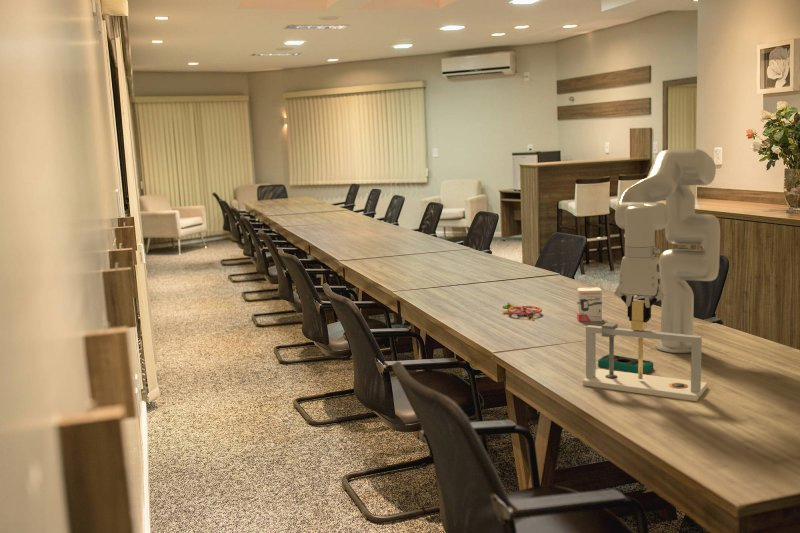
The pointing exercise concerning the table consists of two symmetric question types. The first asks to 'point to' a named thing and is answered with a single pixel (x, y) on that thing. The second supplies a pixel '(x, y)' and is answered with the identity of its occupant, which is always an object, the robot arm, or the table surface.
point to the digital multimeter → (625, 364)
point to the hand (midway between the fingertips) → (639, 320)
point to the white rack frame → (648, 383)
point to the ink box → (589, 304)
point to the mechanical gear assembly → (522, 310)
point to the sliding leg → (639, 325)
